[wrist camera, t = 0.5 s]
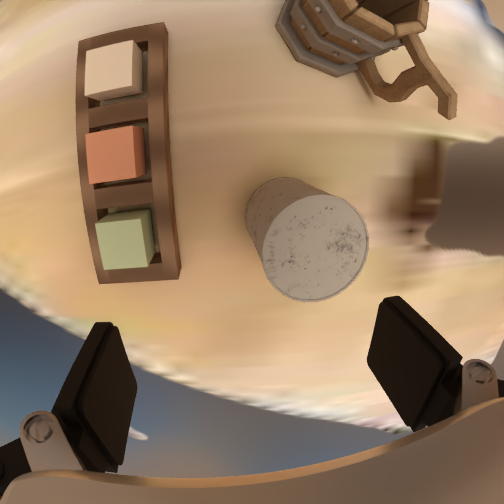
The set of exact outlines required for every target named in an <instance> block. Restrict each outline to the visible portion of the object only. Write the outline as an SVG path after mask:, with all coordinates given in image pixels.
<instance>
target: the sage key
mask: <svg viewBox="0 0 504 504" xmlns="http://www.w3.org/2000/svg"><path fill="white" fill-rule="evenodd" d="M95 227H96V233H97V238H98V244H99V249H100V254H101V259H102V263H103V268H104V270H109V269H124V268H138V267H148V266H149V264H150V262H151V260H152V257H153V256H154V254H155V252H156V251H155V244H154V237H153V230H152V222H151V214H150V209H144V210H135V211H126V212H117V213H109V214H108V215H106V216H105V217H103V218H102V219H101V220H99V221H98V222H97V223H95Z"/></svg>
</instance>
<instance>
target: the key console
mask: <svg viewBox="0 0 504 504" xmlns="http://www.w3.org/2000/svg"><path fill="white" fill-rule="evenodd" d="M130 40H133V41H134V42H135V43H136V45H137V46H138V47H139V48H140V50H141V51H142V52H144V51H148V98H142V99H136V100H130V101H124V102H119V103H114V104H109V105H104V106H100V101H98V100H96V99H93V98H90V97H87V96H85V65H86V51H89V50H92V49H96V48H100V47H104V46H108V45H112V44H116V43H121V42H125V41H130ZM141 122H148V124H149V144H150V160H151V173H152V179H149V180H140V181H132V182H125V183H117V184H110V185H105V184H104V182H101V183H95V184H89V176H88V166H87V154H86V138H85V134H89V133H94V132H99V131H100V130H101V129H106V128H111V127H116V126H122V125H128V124H134V123H141ZM76 135H77V152H78V164H79V175H80V184H81V192H82V199H83V206H84V213H85V219H86V225H87V231H88V236H89V242H90V247H91V251H92V256H93V261H94V265H95V270H96V274H97V278H98V282H99V284H110V283H127V282H144V281H160V280H175V279H179V275H180V270H181V261H180V253H179V245H178V236H177V227H176V218H175V208H174V197H173V185H172V172H171V157H170V140H169V117H168V32H167V29H166V27H165V24H164V22H163V23H156V24H149V25H144V26H138V27H133V28H128V29H123V30H119V31H115V32H110V33H106V34H102V35H99V36H95V37H91V38H88V39H85V40H81V41H79V44H78V56H77V72H76ZM147 203H154V205H155V214H156V222H157V230H158V238H159V245H160V252H161V253H155V254H154V256H153V257H152V260H151V262H150V264H149V266H148V267H138V268H124V269H109V270H104V268H103V263H102V259H101V254H100V249H99V244H98V238H97V233H96V227H95V223H97V222H98V221H99V220H101V219H102V218H103V217H105V216H106V215H108V208H112V207H120V206H129V205H138V204H147Z"/></svg>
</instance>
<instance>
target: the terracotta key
mask: <svg viewBox="0 0 504 504" xmlns="http://www.w3.org/2000/svg"><path fill="white" fill-rule="evenodd" d="M85 138H86V154H87V166H88V176H89V184H95V183H101V182H108V181H115V180H122V179H129V178H136V177H139V176H141V175H143V174H146V161H145V147H144V128H141V127H137V126H126V127H120V128H115V129H109V130H104V131H99V132H94V133H89V134H85Z"/></svg>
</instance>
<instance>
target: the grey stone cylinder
mask: <svg viewBox="0 0 504 504" xmlns="http://www.w3.org/2000/svg"><path fill="white" fill-rule="evenodd" d="M245 219H246V226H247V229H248V232H249V234H250V236H251V238H252V239H253V242H254V244H255V247H256V249H257V251H258V254H259V256H260V259H261V261H262V263H263V268H264V271H265V273H266V276H267V278H268V280H269V281H270V283H271V284H272V285H273V287H274V288H275V289H276V290H277V291H279V292H280V293H281V294H282V295H284V296H286V297H288V298H290V299H292V300H296V301H301V302H318V301H322V300H327V299H329V298H331V297H334V296H336V295H338V294H339V293H341V292H342V291H344V290H345V289H346V288H348V287H349V286H350V285H351V284H352V283H353V282H354V281H355V279H356V278H357V276H358V275H359V273H360V272H361V271H362V268H363V266H364V264H365V262H366V259H367V254H368V250H369V235H368V230H367V226H366V224H365V222H364V219H363V217H362V215H361V214H360V213H359V212H358V210H357V209H356V208H355V207H354V206H353V205H351V204H350V203H349V202H347V201H346V200H344V199H342V198H339V197H336V196H334V195H331V194H328V193H326V192H324V191H322V190H319V189H317V188H315V187H313V186H310V185H308V184H306V183H304V182H303V181H300V180H298V179H295V178H287V177H284V178H276V179H273V180H271V181H268V182H266V183H265V184H263V185H262V186H260V187H259V188H258V189H257V190H256V191H255V193H254V194H253V195H252V197H251V199H250V200H249V203H248V206H247V209H246V218H245Z"/></svg>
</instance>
